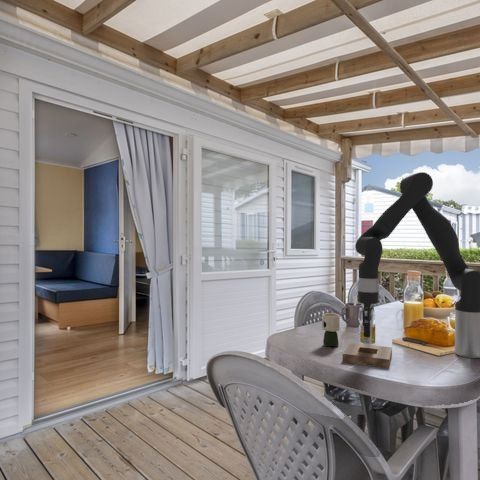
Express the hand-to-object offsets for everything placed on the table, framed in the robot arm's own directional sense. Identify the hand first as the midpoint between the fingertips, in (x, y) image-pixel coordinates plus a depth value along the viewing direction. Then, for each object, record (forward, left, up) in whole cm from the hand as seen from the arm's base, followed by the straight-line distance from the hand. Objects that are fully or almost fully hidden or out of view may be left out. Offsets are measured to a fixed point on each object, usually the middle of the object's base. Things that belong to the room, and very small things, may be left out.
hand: (367, 334), depth 144 cm
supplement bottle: (0, 0, -3) cm, 3 cm away
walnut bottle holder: (0, 0, -9) cm, 9 cm away
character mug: (+16, -11, -9) cm, 21 cm away
